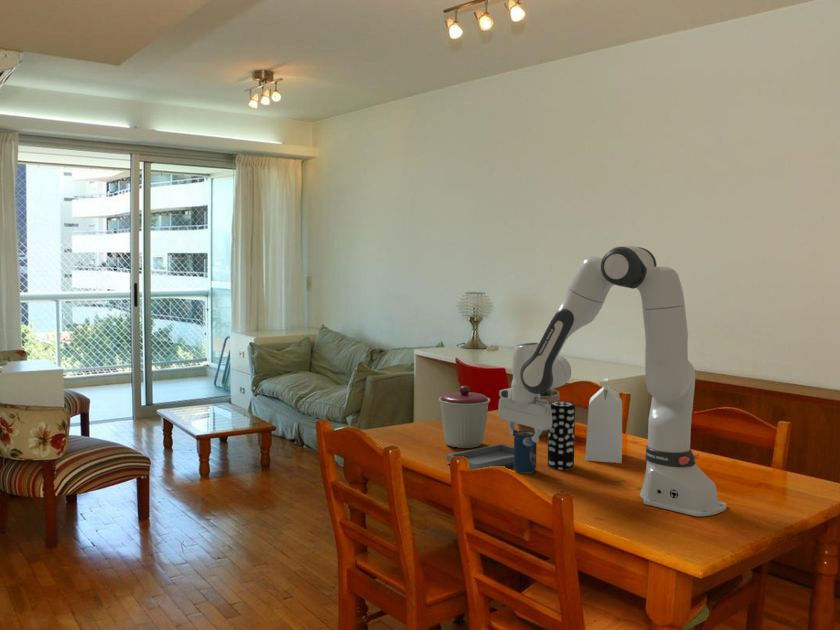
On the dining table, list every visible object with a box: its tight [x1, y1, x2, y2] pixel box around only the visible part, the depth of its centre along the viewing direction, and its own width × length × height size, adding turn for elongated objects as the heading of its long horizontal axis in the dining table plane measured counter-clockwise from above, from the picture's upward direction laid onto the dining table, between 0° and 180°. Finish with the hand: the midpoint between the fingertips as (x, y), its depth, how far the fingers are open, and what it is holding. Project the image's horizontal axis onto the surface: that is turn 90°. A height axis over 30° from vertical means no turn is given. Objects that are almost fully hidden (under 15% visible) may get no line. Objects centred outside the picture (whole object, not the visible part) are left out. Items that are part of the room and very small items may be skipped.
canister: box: [438, 385, 491, 449], centre depth 260 cm, size 18×18×21 cm
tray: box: [446, 443, 514, 469], centre depth 238 cm, size 14×24×3 cm, turn 127°
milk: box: [584, 377, 623, 464], centre depth 246 cm, size 12×12×26 cm
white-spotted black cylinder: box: [546, 400, 576, 471], centre depth 235 cm, size 8×8×20 cm
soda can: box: [513, 430, 537, 474], centre depth 229 cm, size 7×7×12 cm
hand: (524, 438), depth 229 cm, fingers open, 8 cm apart
